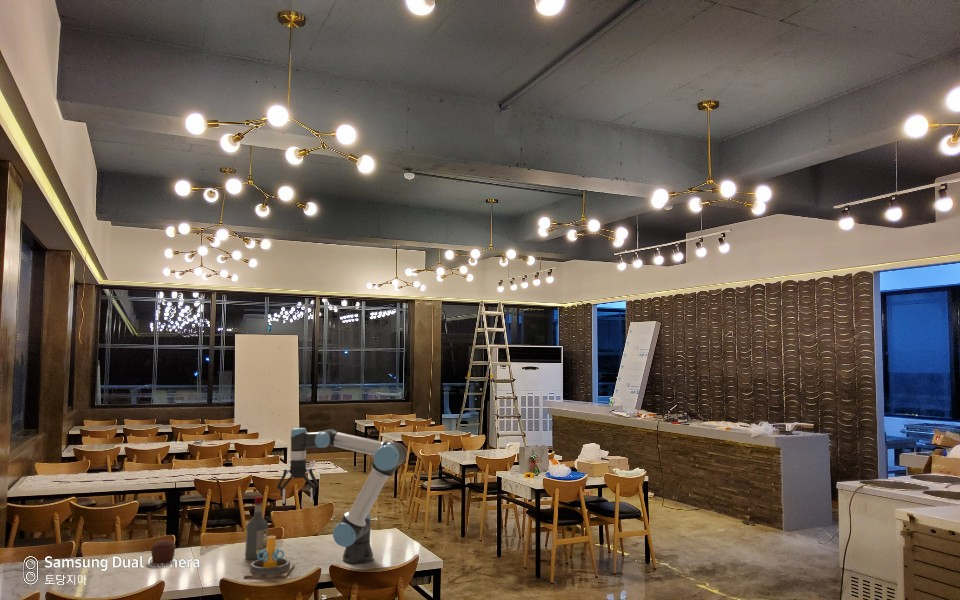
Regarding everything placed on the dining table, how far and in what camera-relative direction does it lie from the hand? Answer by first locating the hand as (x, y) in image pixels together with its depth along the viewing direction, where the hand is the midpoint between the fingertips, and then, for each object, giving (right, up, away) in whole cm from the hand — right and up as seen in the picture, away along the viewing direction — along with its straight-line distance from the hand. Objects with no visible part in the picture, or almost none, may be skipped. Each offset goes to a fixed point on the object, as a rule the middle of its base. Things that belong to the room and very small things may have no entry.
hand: (297, 502), depth 338 cm
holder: (-8, -28, -18) cm, 34 cm away
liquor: (-23, -30, +6) cm, 38 cm away
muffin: (-66, -29, -3) cm, 72 cm away
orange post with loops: (-8, -27, -18) cm, 33 cm away
